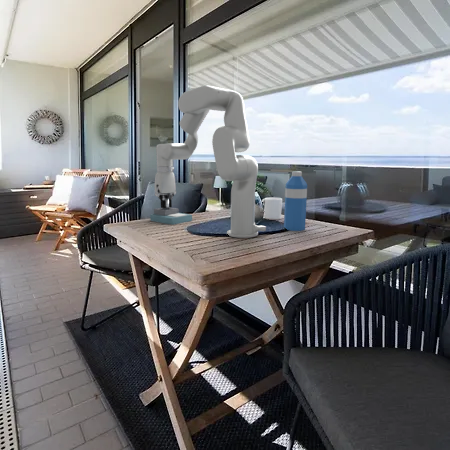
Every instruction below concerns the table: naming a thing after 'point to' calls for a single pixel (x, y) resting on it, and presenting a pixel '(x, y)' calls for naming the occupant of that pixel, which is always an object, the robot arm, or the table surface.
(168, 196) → the chuck key
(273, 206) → the mug
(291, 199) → the water bottle
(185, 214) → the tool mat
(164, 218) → the drill base
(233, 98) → the robot arm
